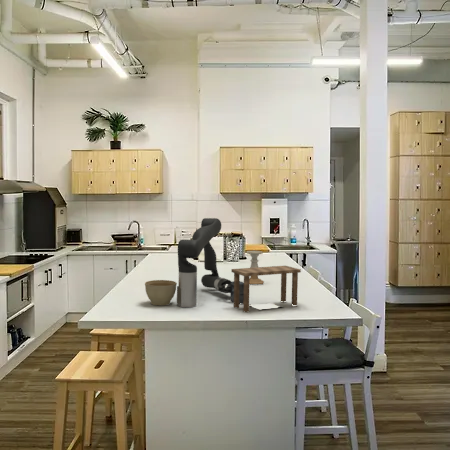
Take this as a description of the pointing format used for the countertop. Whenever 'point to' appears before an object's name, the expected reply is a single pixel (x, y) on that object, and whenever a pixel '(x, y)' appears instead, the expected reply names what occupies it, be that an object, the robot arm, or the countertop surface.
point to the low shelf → (264, 271)
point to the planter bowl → (160, 291)
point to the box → (241, 292)
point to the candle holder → (254, 266)
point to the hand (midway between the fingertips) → (237, 290)
